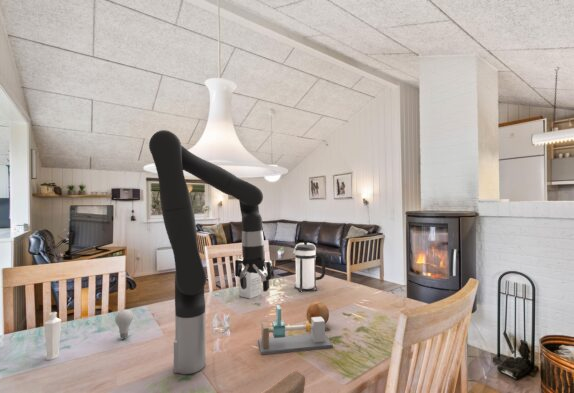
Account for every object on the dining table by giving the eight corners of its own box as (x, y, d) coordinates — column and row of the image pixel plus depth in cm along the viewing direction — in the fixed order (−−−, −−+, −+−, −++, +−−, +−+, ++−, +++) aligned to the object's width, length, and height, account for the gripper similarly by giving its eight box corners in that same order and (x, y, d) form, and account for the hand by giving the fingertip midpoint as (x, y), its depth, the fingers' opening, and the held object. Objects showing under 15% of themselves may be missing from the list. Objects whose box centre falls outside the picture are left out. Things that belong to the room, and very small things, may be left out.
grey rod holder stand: (260, 354, 102) (260, 329, 102) (258, 341, 112) (258, 318, 112) (332, 347, 107) (332, 323, 107) (324, 335, 117) (324, 313, 117)
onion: (310, 319, 132) (310, 297, 132) (332, 323, 128) (332, 300, 128) (302, 327, 123) (302, 303, 124) (325, 332, 119) (325, 307, 119)
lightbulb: (129, 341, 112) (129, 312, 112) (112, 343, 111) (112, 313, 111) (135, 334, 118) (135, 306, 118) (118, 335, 117) (118, 307, 117)
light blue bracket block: (274, 338, 106) (274, 309, 106) (272, 332, 110) (272, 305, 110) (285, 337, 107) (284, 308, 107) (283, 332, 111) (283, 304, 111)
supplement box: (238, 296, 165) (238, 269, 165) (249, 292, 172) (249, 266, 172) (250, 299, 160) (250, 271, 160) (261, 294, 167) (261, 268, 167)
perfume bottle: (57, 359, 99) (58, 314, 100) (42, 361, 98) (42, 316, 98) (63, 352, 104) (64, 309, 104) (49, 354, 103) (49, 311, 103)
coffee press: (312, 294, 167) (312, 241, 167) (288, 290, 175) (288, 239, 176) (325, 287, 181) (325, 238, 182) (303, 283, 190) (302, 236, 190)
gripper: (229, 244, 102) (231, 291, 103) (266, 246, 97) (268, 295, 97) (241, 241, 109) (243, 284, 110) (275, 242, 104) (277, 288, 104)
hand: (254, 289), depth 103 cm, fingers open, 8 cm apart
